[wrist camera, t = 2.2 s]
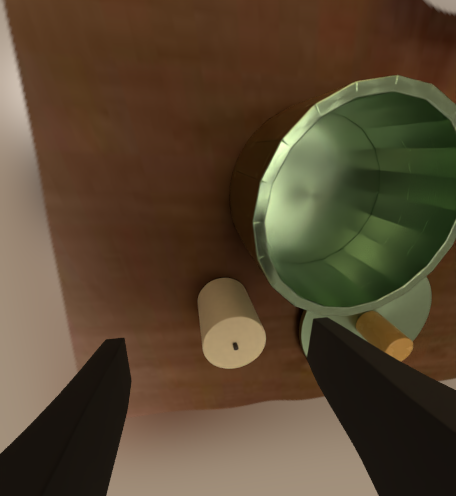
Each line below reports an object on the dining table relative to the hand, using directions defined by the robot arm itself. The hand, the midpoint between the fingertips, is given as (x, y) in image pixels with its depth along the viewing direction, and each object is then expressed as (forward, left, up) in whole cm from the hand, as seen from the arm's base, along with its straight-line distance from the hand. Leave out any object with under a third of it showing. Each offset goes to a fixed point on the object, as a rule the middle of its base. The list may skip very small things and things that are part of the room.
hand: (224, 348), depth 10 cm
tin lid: (-15, +5, -9) cm, 18 cm away
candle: (-2, +4, -10) cm, 11 cm away
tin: (-7, -5, -10) cm, 13 cm away
